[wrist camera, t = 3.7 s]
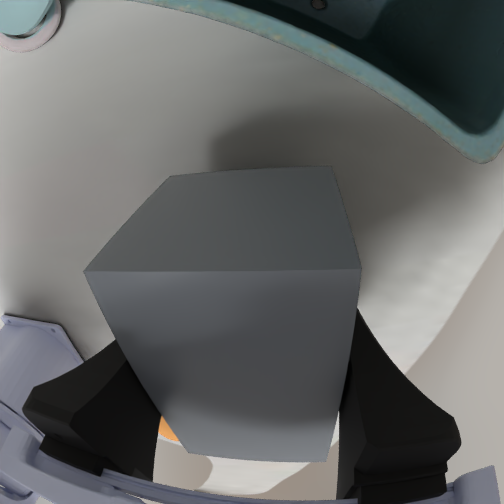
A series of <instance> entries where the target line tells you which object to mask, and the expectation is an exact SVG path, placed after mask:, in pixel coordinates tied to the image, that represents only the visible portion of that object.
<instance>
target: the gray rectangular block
mask: <svg viewBox="0 0 504 504" xmlns="http://www.w3.org/2000/svg"><path fill="white" fill-rule="evenodd" d="M361 270H362V268H361V264H360V261H359V257H358V253H357V249H356V246H355V242H354V238H353V235H352V231H351V228H350V224H349V221H348V217H347V214H346V211H345V207H344V204H343V201H342V198H341V194H340V191H339V188H338V185H337V182H336V179H335V176H334V173H333V170H332V167H331V166H305V167H280V168H260V169H244V170H230V171H218V172H206V173H195V174H185V175H176V176H170V177H169V178H168V179H167V180H166V181H165V182H164V183H163V184H162V185H161V186H160V187H159V188H158V189H157V190H156V191H155V192H154V193H153V194H152V195H151V196H150V197H149V198H148V199H147V200H146V201H145V202H144V203H143V204H142V205H141V206H140V207H139V209H138V210H137V211H136V212H135V213H134V214H133V215H132V216H131V217H130V218H129V219H128V220H127V221H126V223H125V224H124V225H123V226H122V227H121V228H120V229H119V230H118V231H117V233H116V234H115V235H114V236H113V237H112V238H111V239H110V240H109V242H108V243H107V244H106V245H105V246H104V247H103V249H102V250H101V251H100V252H99V253H98V254H97V256H96V257H95V258H94V259H93V260H92V261H91V263H90V264H89V265H88V266H87V267H86V269H85V270H84V271H83V272H84V274H85V276H86V279H87V281H88V283H89V285H90V288H91V290H92V292H93V294H94V296H95V298H96V300H97V303H98V305H99V307H100V309H101V311H102V313H103V315H104V317H105V319H106V321H107V323H108V325H109V327H110V329H111V331H112V332H113V334H114V336H115V338H116V340H117V342H118V344H119V346H120V347H121V349H122V351H123V353H124V355H125V356H126V358H127V360H128V362H129V363H130V365H131V367H132V369H133V370H134V372H135V374H136V375H137V377H138V379H139V380H140V382H141V384H142V385H143V387H144V389H145V390H146V392H147V393H148V395H149V397H150V398H151V400H152V401H153V403H154V404H155V406H156V408H157V409H158V411H159V412H160V414H161V415H162V417H163V418H164V420H165V421H166V422H167V424H168V425H169V427H170V428H171V430H172V431H173V433H174V434H175V435H176V437H177V438H178V440H179V441H180V442H181V444H182V445H183V446H184V448H185V449H186V450H187V452H188V453H192V454H199V455H206V456H213V457H222V458H231V459H241V460H254V461H271V462H326V460H327V456H328V453H329V449H330V445H331V441H332V437H333V433H334V429H335V425H336V420H337V416H338V411H339V407H340V402H341V398H342V393H343V388H344V383H345V378H346V373H347V367H348V362H349V356H350V350H351V344H352V338H353V332H354V325H355V318H356V311H357V304H358V296H359V288H360V279H361Z"/></svg>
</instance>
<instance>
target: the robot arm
mask: <svg viewBox="0 0 504 504" xmlns="http://www.w3.org/2000/svg"><path fill="white" fill-rule="evenodd" d="M1 319H2V321H3V322H4V324H5V325H4V326H3V327H2V329H1V330H0V485H2V486H4V487H5V488H3V487H0V504H35V502H36V501H37V499H38V498H39V497H40V496H41V497H43V498H45V499H47V500H48V501H51V502H52V503H54V504H146V503H144V502H143V501H142V500H141V499H139V498H136V497H134V496H137V497H140V498H144V499H148V500H151V501H156V502H160V503H163V504H500V497H499V490H498V484H497V479H496V473H495V468H494V466H492V465H491V466H488V467H485V468H482V469H479V470H476V471H472V472H469V473H466V474H464V475H461V476H460V477H458V478H457V479H456V480H455V481H454V482H451V483H448V484H446V478H445V473H446V472H447V470H448V468H447V461H448V460H449V459H450V458H451V457H452V456H453V455H454V454H455V453H456V452H457V451H458V449H459V448H460V446H461V438H460V433H459V430H458V427H457V425H456V422H455V420H454V417H452V416H451V415H449V414H448V413H447V412H445V411H444V410H442V409H441V408H440V407H438V406H437V405H436V404H435V403H433V402H432V401H431V400H430V399H428V398H427V397H426V396H425V395H424V394H423V393H422V392H421V391H420V390H419V389H418V388H417V387H415V385H414V384H412V383H411V382H410V381H409V380H408V379H407V378H406V376H405V375H404V374H403V373H402V372H401V371H400V370H399V369H398V367H397V366H396V365H395V364H394V363H393V362H392V360H391V359H390V358H389V356H388V355H387V354H386V353H385V351H384V350H383V348H382V347H381V346H380V344H379V343H378V341H377V340H376V338H375V337H374V335H373V334H372V332H371V331H370V329H369V327H368V326H367V324H366V322H365V321H364V319H363V317H362V315H361V314H360V312H359V310H358V308H357V311H356V318H355V325H354V332H353V338H352V344H351V350H350V356H349V362H348V367H347V373H346V378H345V383H344V388H343V393H342V398H341V402H340V407H339V462H338V481H337V494H336V500H319V501H289V500H266V499H252V498H240V497H232V496H223V495H217V494H210V493H203V492H197V491H192V490H186V489H181V488H176V487H171V486H167V485H162V484H158V483H154V482H153V469H154V458H155V450H156V443H157V437H158V431H159V426H160V420H161V416H162V415H161V414H160V412H159V411H158V409H157V408H156V406H155V404H154V403H153V401H152V400H151V398H150V397H149V395H148V393H147V392H146V390H145V389H144V387H143V385H142V384H141V382H140V380H139V379H138V377H137V375H136V374H135V372H134V370H133V369H132V367H131V365H130V363H129V362H128V360H127V358H126V356H125V355H124V353H123V351H122V349H121V347H120V346H119V344H118V342H117V340H116V339H115V340H114V341H113V342H112V343H110V344H109V345H108V346H107V347H105V348H104V349H103V350H101V351H100V352H99V353H97V354H96V355H95V356H93V357H92V358H90V359H88V360H87V361H85V362H84V361H83V360H82V358H81V357H80V355H79V354H78V352H77V351H76V349H75V348H74V346H73V345H72V343H71V342H70V340H69V338H68V337H67V335H66V333H65V332H64V330H63V329H62V327H61V326H59V325H57V324H51V323H45V322H40V321H34V320H28V319H23V318H18V317H12V316H7V315H3V316H2V317H1ZM126 493H127V494H126ZM129 494H130V495H129ZM131 495H134V496H131Z"/></svg>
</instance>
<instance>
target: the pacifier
mask: <svg viewBox="0 0 504 504" xmlns="http://www.w3.org/2000/svg"><path fill="white" fill-rule="evenodd" d="M46 13H47V15H46V19H45V21H44V23H43V25H42V27H41V28H40V29H39V30H38V31H37V32H36V33H35V34H33V35H32V36H30V37H27V38H18V37H15V36H13V35H19V34H24V33H27V32H29V31H31V30H32V29H34V28H35V27H36V26H37V25H38V24H39V23H40V22H41V20H42V19H43V17H44V16H45V14H46ZM60 18H61V4H60V2H59V0H0V44H1V45H2V46H3V47H4V48H6V49H8V50H11V51H15V52H27V51H31V50H34V49H36V48H39V47H40V46H41V45H43V44H44V43H45V42H47V41H48V40H49V39H50V38H51V37H52V35H53V34H54V33H55V31H56V29H57V27H58V25H59V22H60Z"/></svg>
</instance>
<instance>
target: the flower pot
mask: <svg viewBox="0 0 504 504" xmlns="http://www.w3.org/2000/svg"><path fill="white" fill-rule="evenodd" d="M129 1H135V2H140V3H146V4H152V5H156V6H161V7H165V8H170V9H175V10H180V11H183V12H186V13H192V14H196V15H199V16H203V17H207V18H210V19H212V20H216V21H219V22H223V23H226V24H229V25H232V26H235V27H238V28H241V29H244V30H247V31H250V32H252V33H255V34H258V35H260V36H263V37H266V38H268V39H270V40H272V41H275V42H278V43H280V44H283V45H285V46H288V47H290V48H292V49H295V50H297V51H299V52H301V53H303V54H306V55H308V56H310V57H312V58H314V59H316V60H318V61H320V62H322V63H324V64H326V65H328V66H330V67H332V68H334V69H336V70H338V71H340V72H342V73H344V74H346V75H348V76H349V77H351V78H353V79H355V80H357V81H358V82H360V83H362V84H363V85H365V86H367V87H369V88H370V89H372V90H374V91H375V92H377V93H379V94H380V95H382V96H383V97H385V98H387V99H388V100H390V101H391V102H393V103H394V104H396V105H397V106H399V107H400V108H402V109H403V110H405V111H406V112H408V113H409V114H411V115H412V116H414V117H415V118H417V119H418V120H419V121H420V122H422V123H423V124H425V125H426V126H428V127H429V128H430V129H431V130H432V131H434V132H435V133H436V134H438V135H439V136H440V137H441V138H442V139H443V140H444V141H446V142H447V143H448V144H450V145H451V146H452V147H454V148H455V149H456V150H457V151H459V152H460V153H461V154H462V155H464V156H465V157H466V158H468V159H470V160H472V161H474V162H476V163H480V164H483V163H487V162H489V161H492V160H494V159H495V158H496V157H497V155H498V154H499V152H500V151H501V149H502V148H503V147H504V0H322V1H323V2H324V4H325V6H324V7H323V8H322V9H316V8H314V7H313V6H312V2H313V0H129Z"/></svg>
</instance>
